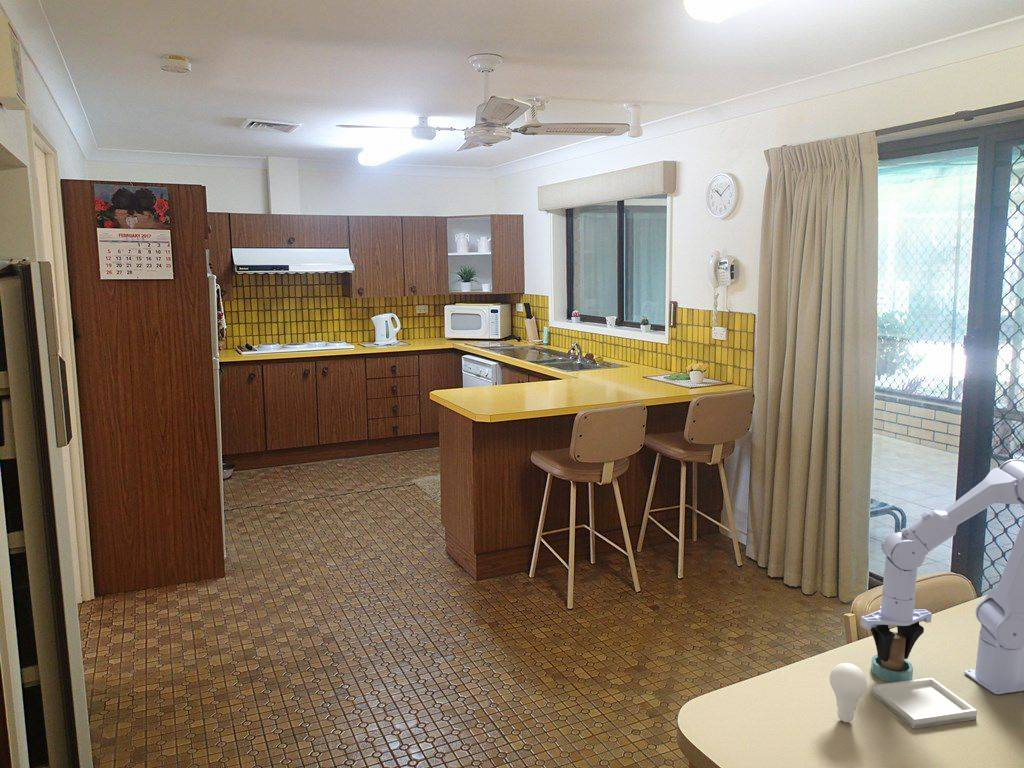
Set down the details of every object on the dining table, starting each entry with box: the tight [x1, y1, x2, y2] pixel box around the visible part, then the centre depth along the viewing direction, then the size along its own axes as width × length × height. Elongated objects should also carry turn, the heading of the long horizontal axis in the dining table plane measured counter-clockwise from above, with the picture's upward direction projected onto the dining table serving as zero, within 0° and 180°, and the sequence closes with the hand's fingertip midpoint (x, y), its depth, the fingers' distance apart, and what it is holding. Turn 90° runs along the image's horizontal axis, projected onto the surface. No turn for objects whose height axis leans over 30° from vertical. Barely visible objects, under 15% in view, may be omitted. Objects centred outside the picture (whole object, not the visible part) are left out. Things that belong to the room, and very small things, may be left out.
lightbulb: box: [829, 662, 868, 723], centre depth 135 cm, size 6×6×11 cm
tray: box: [871, 677, 978, 730], centre depth 141 cm, size 13×11×2 cm
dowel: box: [881, 631, 906, 672], centre depth 151 cm, size 4×4×8 cm
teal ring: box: [870, 653, 914, 683], centre depth 152 cm, size 7×7×2 cm
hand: (892, 657), depth 151 cm, fingers closed on dowel, 4 cm apart
